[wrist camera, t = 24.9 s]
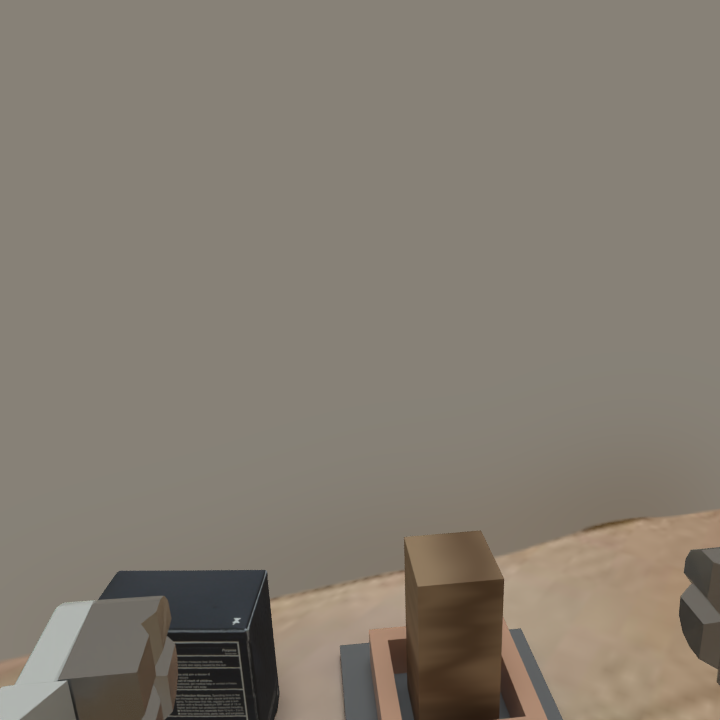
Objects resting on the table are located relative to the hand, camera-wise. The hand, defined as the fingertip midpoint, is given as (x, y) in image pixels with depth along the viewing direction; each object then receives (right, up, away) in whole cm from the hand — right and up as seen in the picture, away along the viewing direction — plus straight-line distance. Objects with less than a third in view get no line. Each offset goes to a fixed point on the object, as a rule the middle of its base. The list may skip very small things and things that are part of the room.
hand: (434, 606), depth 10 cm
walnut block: (+5, -19, +33) cm, 39 cm away
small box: (-12, -21, +34) cm, 42 cm away
